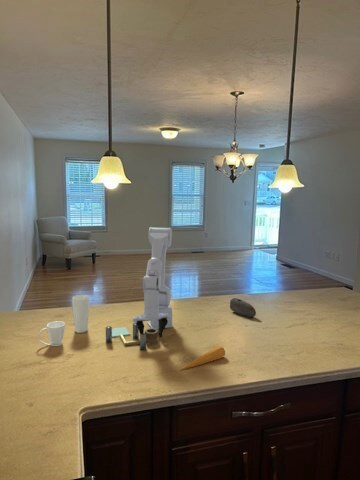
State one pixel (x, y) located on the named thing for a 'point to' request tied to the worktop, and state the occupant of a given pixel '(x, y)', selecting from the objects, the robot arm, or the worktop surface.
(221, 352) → the carrot
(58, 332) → the cup
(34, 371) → the worktop surface
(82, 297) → the drinking glass
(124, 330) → the pad
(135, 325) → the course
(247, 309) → the perforated stone tool
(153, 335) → the octagonal hollow tube
